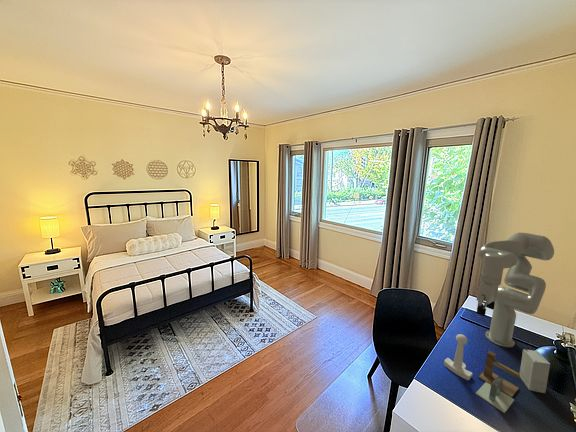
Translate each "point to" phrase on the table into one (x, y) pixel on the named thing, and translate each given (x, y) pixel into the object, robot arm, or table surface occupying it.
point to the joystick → (459, 359)
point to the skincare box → (534, 370)
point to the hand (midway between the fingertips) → (485, 311)
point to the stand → (490, 376)
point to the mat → (501, 400)
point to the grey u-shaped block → (496, 388)
